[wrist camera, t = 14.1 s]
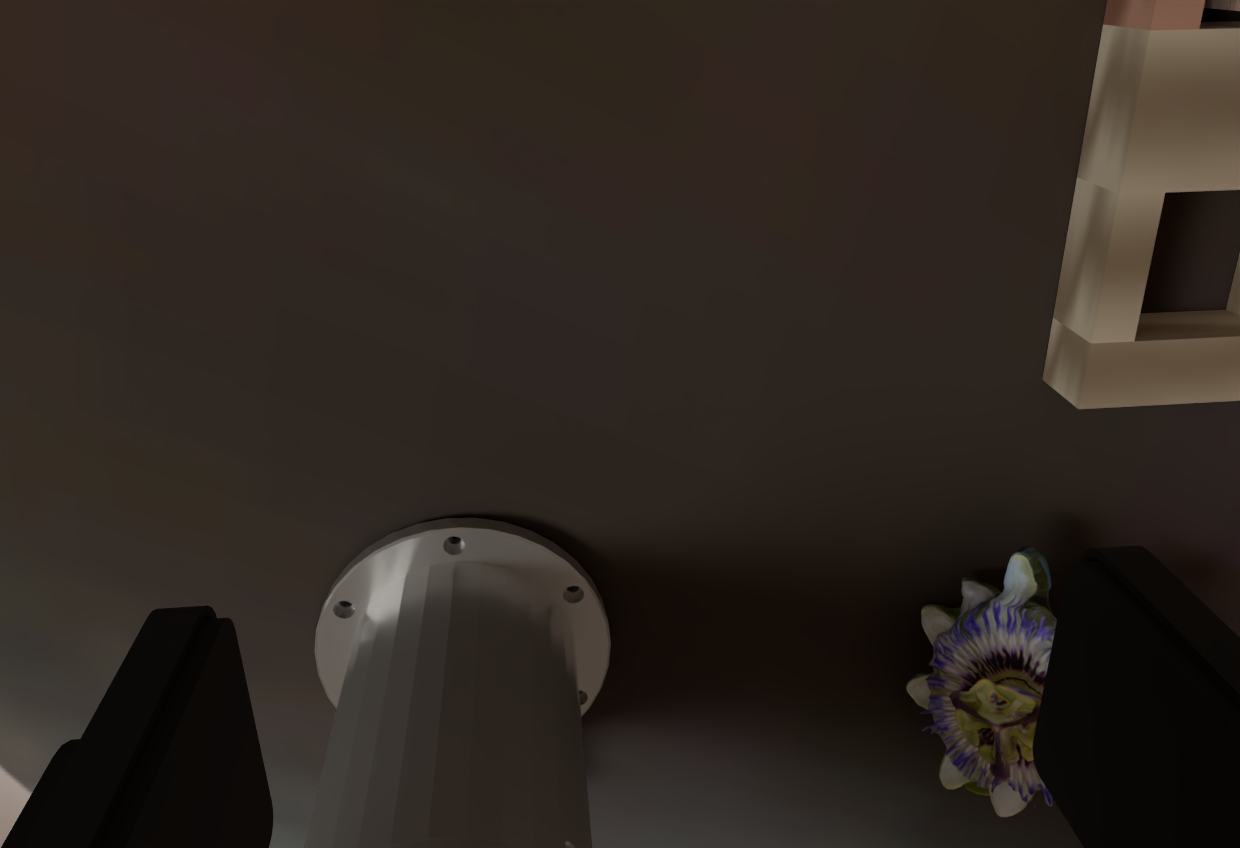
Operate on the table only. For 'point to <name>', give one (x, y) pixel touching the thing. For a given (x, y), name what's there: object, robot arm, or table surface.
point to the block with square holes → (1147, 211)
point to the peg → (1223, 4)
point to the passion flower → (990, 682)
